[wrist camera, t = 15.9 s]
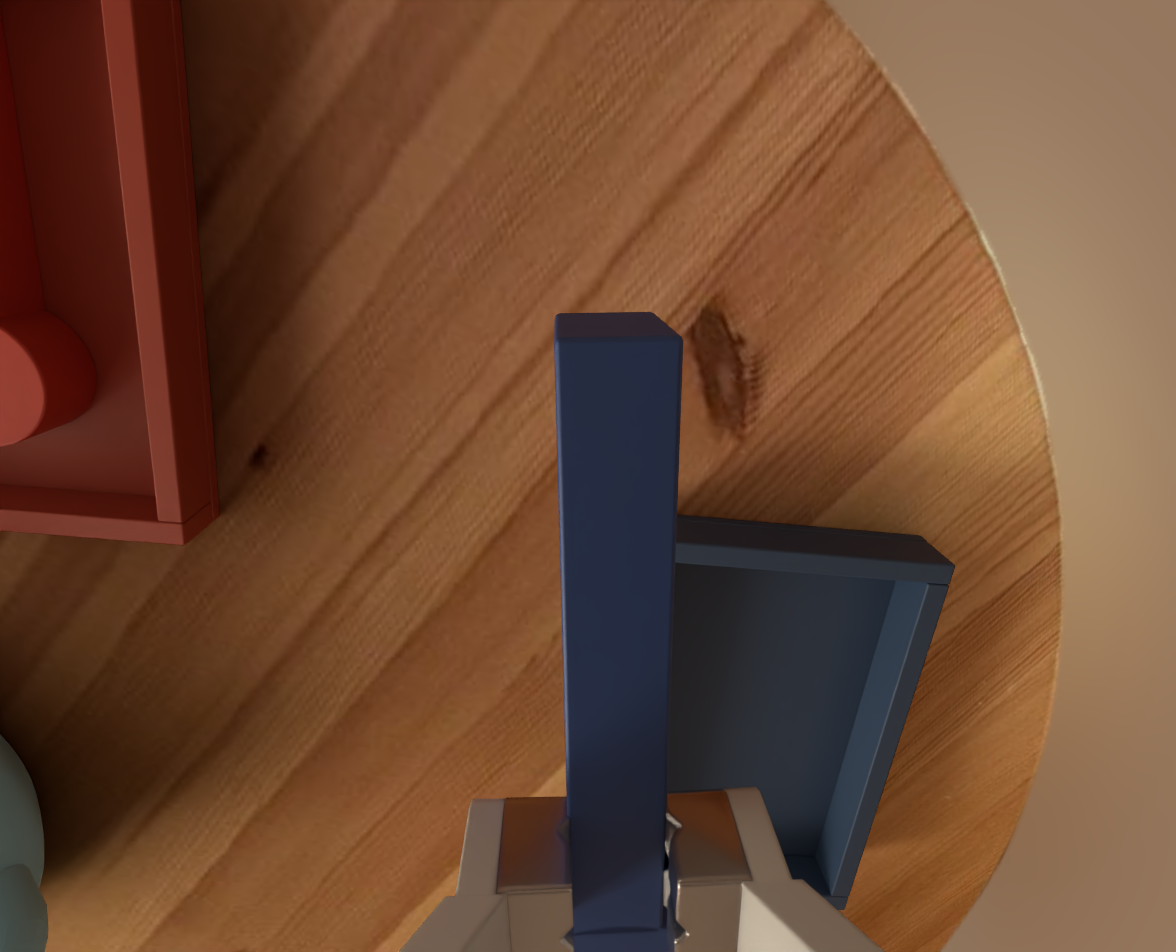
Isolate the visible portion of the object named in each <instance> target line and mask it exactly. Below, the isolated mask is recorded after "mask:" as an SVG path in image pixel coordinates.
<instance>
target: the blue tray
mask: <svg viewBox="0 0 1176 952" xmlns="http://www.w3.org/2000/svg"><path fill="white" fill-rule="evenodd" d="M954 568H955V565H954V564H953V563H952V562H950V561H949V560H948V559H947V558H946V557H944V556H943V555H942V554H941V553H940V552H939V551H937V550H936V549H935V548H934V547H933V546H932V545H930V544H929V543H928V542H927V541H926V540H925V539H924V538H923V537H922V536H919V535H907V534H895V533H884V532H872V531H861V530H849V529H837V528H826V527H814V526H802V525H791V524H779V523H768V522H756V521H744V520H733V519H721V518H710V517H698V516H686V515H677V528H676V556H675V584H674V612H673V640H672V669H671V697H670V725H669V753H668V781H667V792H669V791H687V790H705V789H722V790H723V789H724V788H740V787H756V788H757V789H758V790H759V791H760V793H761V796H762V798H763V801H764V804H765V806H766V809H767V812H768V815H769V817H770V820H771V823H772V825H773V828H774V831H775V834H776V836H777V839H778V842H779V845H780V847H781V850H782V853H783V855H784V858H785V861H786V864H787V866H788V869H789V872H790V874H791V877H792V880H794V879H803V880H804V881H805V882H806V883H807V884H808V885H810V886H811V887H812V888H813V889H814V890H815V891H816V892H818V893H819V894H820V895H821V896H822V897H823V898H824V899H826V900H827V901H828V902H829V903H830V904H831V905H832V906H833V907H835V908H836V909H837V910H844V909H845V906H846V903H847V900H848V896H849V894H850V891H851V888H852V885H853V882H854V879H855V876H856V873H857V869H858V866H859V863H860V860H861V857H862V854H863V851H864V848H865V845H866V842H867V839H868V835H869V832H870V829H871V826H872V823H873V820H874V817H875V814H876V811H877V808H878V804H879V801H880V798H881V795H882V792H883V789H884V786H885V783H886V780H887V777H888V774H889V770H890V767H891V764H892V761H893V758H894V755H895V752H896V749H897V746H898V743H899V740H900V736H901V733H902V730H903V727H904V724H905V721H906V718H907V715H908V712H909V709H910V705H911V702H912V699H913V696H914V693H915V690H916V687H917V684H918V681H919V678H920V675H921V671H922V668H923V665H924V662H925V659H926V656H927V653H928V650H929V647H930V644H931V641H932V637H933V634H934V631H935V628H936V625H937V622H938V619H939V616H940V613H941V610H942V606H943V603H944V600H945V597H946V594H947V591H948V588H949V586H948V584H949V583H950V581H951V578H952V575H953V572H954Z"/></svg>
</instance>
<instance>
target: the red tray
mask: <svg viewBox="0 0 1176 952" xmlns="http://www.w3.org/2000/svg"><path fill="white" fill-rule="evenodd" d="M0 8H1V14H2V21H3V28H4V35H5V41H6V48H7V55H8V62H9V68H10V75H11V82H12V88H13V95H14V102H15V109H16V115H17V122H18V129H19V135H20V142H21V149H22V156H23V162H24V169H25V176H26V183H27V189H28V196H29V203H30V209H31V216H32V223H33V230H34V236H35V243H36V250H37V257H38V263H39V270H40V277H41V283H42V290H43V297H44V304H45V310H46V312H48V313H50V314H52V315H54V316H56V317H57V318H59V319H60V320H62V321H63V322H64V323H66V324H67V325H68V326H69V327H70V328H72V330H73V331H74V332H75V333H76V334H77V335H78V336H79V337H80V339H81V340H82V341H83V342H84V344H85V346H86V347H87V349H88V351H89V353H90V355H91V357H92V360H93V363H94V366H95V371H96V389H95V394H94V397H93V399H92V402H91V403H90V405H89V407H88V408H87V409H86V411H85V412H84V413H83V414H82V415H81V416H79V417H78V418H77V419H75V420H73V421H72V422H69V423H67V424H64V425H62V426H59V427H57V428H54V429H52V430H49V431H47V432H44V433H42V434H39V435H37V436H34V437H32V438H29V439H26V440H24V441H21V442H19V443H16V444H14V445H9V446H4V447H0V531H10V532H22V533H35V534H48V535H61V536H73V537H86V538H99V539H112V540H124V541H137V542H150V543H163V544H175V545H186V544H187V543H188V542H189V541H190V540H191V539H193V538H194V537H195V536H196V535H197V534H199V533H200V532H201V531H202V530H203V529H204V528H206V527H207V526H208V525H209V524H210V523H212V522H213V521H214V520H215V519H217V518H218V517H219V516H220V511H219V498H218V485H217V472H216V459H215V446H214V433H213V421H212V408H211V395H210V382H209V369H208V356H207V343H206V330H205V317H204V304H203V291H202V278H201V265H200V252H199V239H198V226H197V214H196V201H195V188H194V175H193V162H192V149H191V136H190V123H189V110H188V97H187V84H186V71H185V58H184V45H183V32H182V19H181V7H180V0H0Z"/></svg>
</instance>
